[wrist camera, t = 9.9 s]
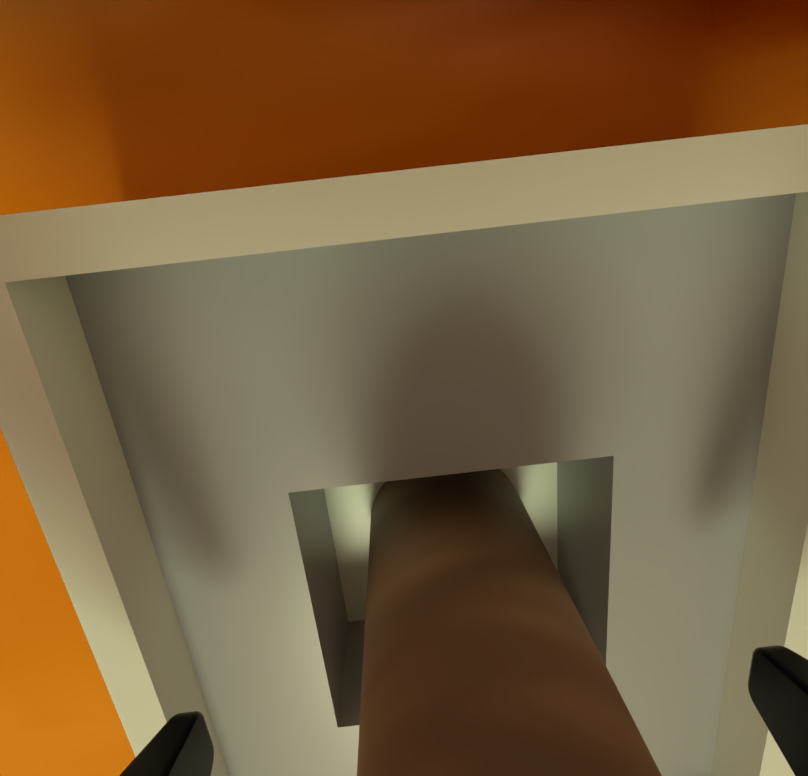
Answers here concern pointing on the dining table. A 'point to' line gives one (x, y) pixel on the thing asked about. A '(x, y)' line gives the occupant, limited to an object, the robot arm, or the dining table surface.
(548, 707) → the walnut peg
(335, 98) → the dining table surface
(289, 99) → the dining table surface
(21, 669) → the dining table surface
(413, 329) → the open bin
